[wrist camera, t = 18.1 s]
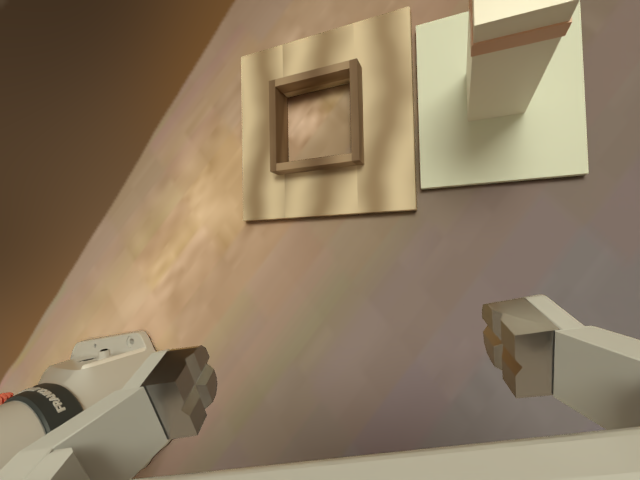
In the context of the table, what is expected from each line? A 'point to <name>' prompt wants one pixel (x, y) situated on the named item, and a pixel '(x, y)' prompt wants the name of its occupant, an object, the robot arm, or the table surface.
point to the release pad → (500, 132)
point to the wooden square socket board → (366, 123)
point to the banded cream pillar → (510, 52)
